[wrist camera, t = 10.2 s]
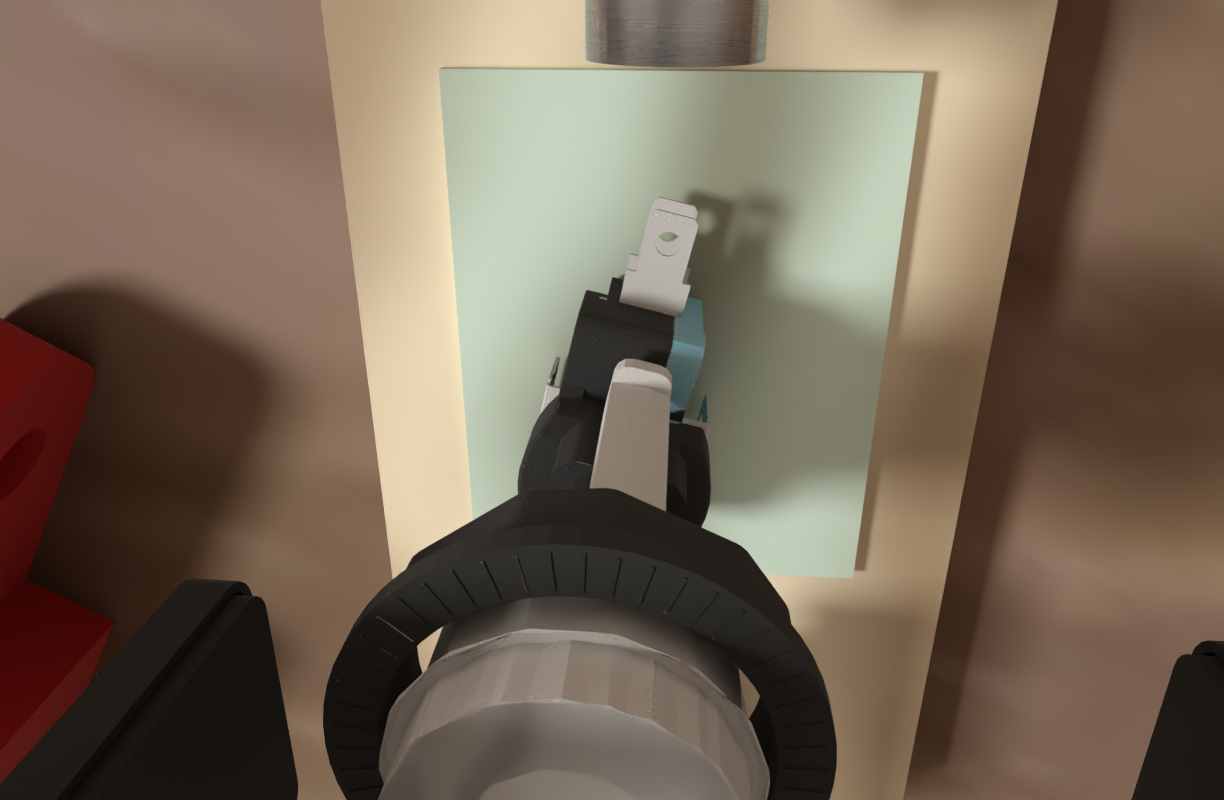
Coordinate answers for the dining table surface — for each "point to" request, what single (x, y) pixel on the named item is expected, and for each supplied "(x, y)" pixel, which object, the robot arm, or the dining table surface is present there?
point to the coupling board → (705, 283)
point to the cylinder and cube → (677, 37)
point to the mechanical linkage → (10, 534)
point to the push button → (591, 602)
